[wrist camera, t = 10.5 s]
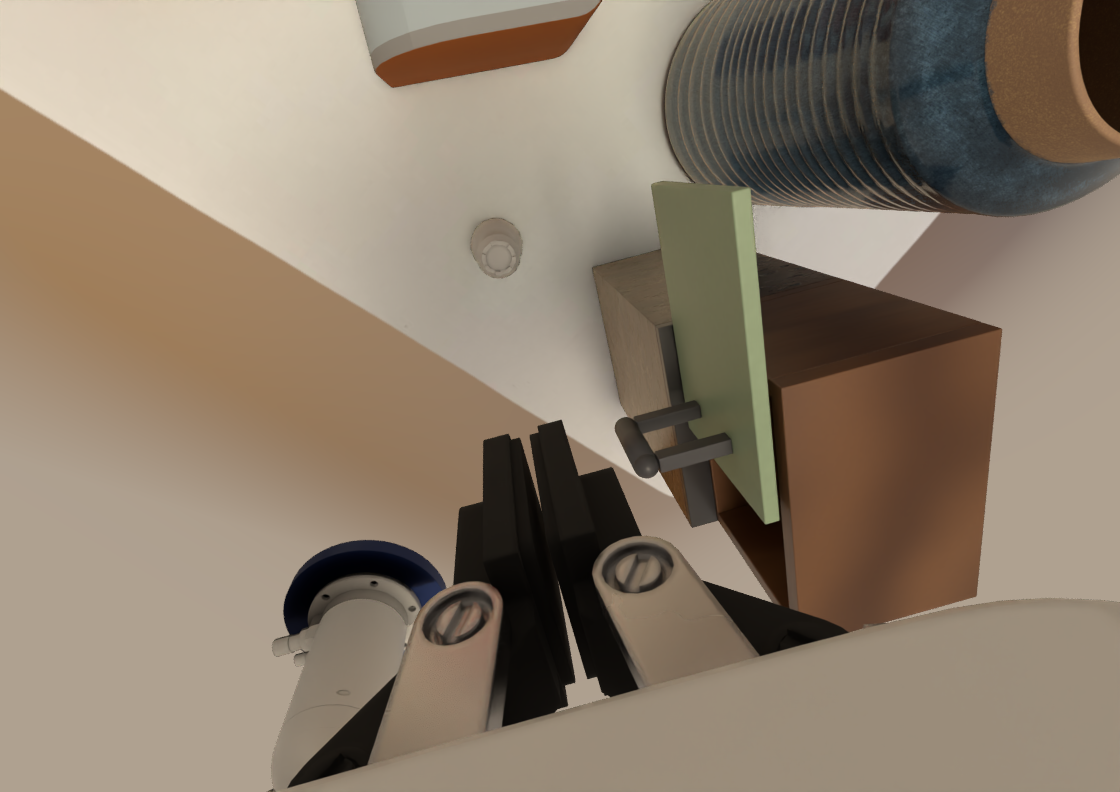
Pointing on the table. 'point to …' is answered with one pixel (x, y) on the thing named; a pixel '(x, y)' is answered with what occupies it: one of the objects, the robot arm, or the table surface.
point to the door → (712, 343)
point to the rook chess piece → (497, 247)
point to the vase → (900, 102)
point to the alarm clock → (466, 35)
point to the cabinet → (834, 437)
